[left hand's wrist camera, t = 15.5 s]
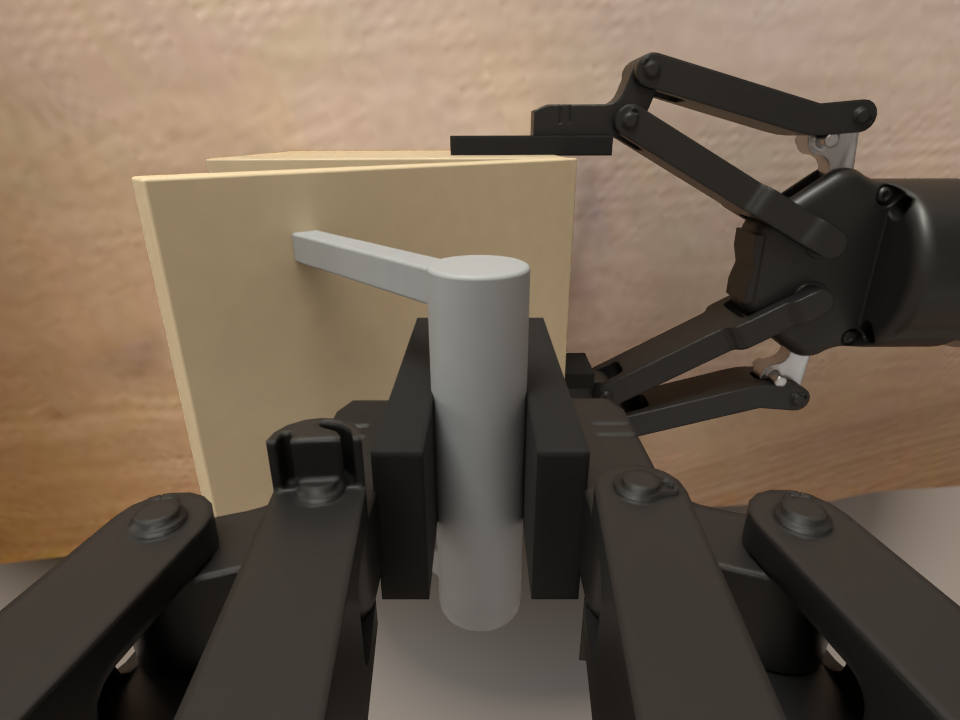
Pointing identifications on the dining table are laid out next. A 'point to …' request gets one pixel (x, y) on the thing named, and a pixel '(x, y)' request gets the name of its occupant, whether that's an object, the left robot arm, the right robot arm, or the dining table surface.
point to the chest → (345, 159)
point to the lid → (369, 327)
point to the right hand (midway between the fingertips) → (454, 266)
